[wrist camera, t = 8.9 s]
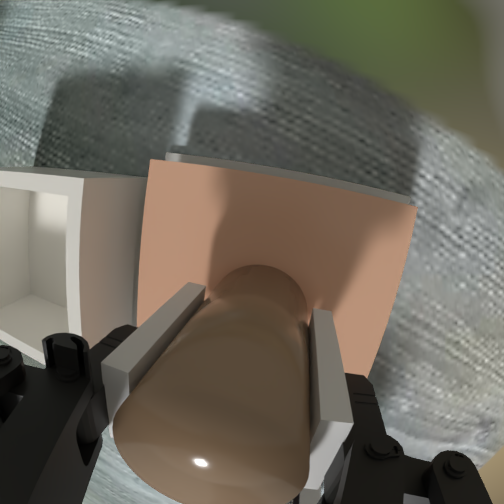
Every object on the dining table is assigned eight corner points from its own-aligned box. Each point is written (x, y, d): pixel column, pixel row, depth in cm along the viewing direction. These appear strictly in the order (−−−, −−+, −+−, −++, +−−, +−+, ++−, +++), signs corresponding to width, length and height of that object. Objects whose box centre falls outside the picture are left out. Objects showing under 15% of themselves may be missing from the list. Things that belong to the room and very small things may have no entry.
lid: (144, 371, 17) (50, 488, 8) (159, 160, 14) (-14, 147, 5) (344, 415, 16) (358, 567, 6) (410, 205, 13) (566, 248, 4)
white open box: (31, 297, 20) (-22, 324, 14) (33, 166, 18) (-32, 168, 12) (137, 336, 19) (87, 385, 13) (149, 177, 17) (84, 178, 11)
